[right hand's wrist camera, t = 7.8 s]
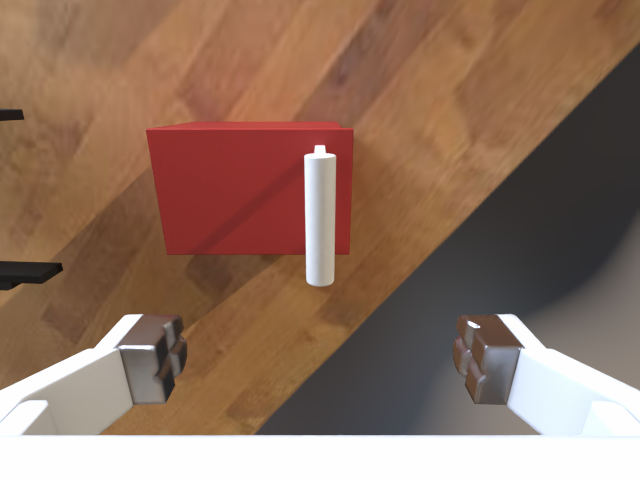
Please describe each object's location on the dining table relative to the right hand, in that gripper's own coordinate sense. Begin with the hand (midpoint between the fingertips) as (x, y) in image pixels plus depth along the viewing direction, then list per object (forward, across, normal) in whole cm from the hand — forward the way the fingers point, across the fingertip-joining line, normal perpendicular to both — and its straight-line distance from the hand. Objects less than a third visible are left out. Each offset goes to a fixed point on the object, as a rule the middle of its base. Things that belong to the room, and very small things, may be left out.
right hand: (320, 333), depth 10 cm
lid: (+18, -5, 0) cm, 18 cm away
